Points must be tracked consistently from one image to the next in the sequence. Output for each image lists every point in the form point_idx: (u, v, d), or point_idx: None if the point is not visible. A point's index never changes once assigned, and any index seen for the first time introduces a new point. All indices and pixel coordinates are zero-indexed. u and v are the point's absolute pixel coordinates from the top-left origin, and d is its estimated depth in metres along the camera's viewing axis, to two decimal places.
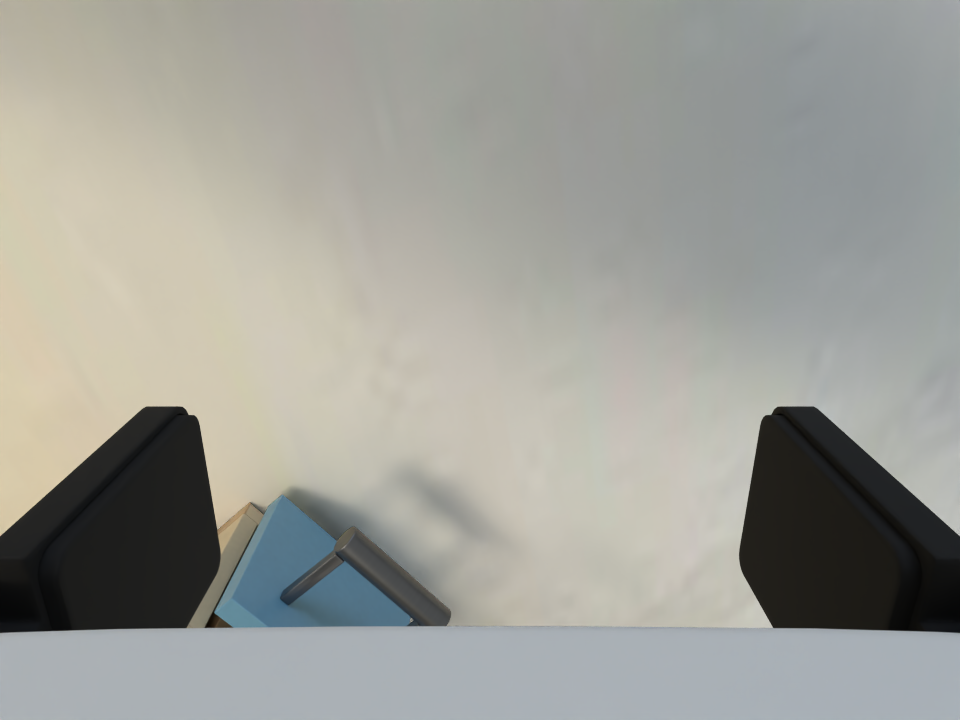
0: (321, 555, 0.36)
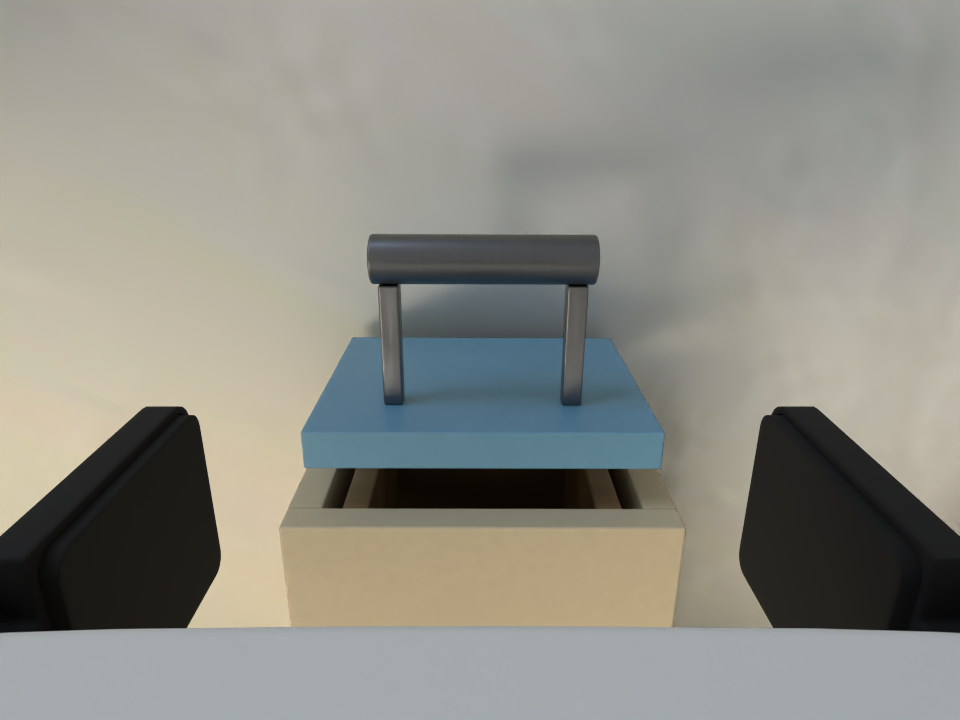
0: (437, 354, 0.25)
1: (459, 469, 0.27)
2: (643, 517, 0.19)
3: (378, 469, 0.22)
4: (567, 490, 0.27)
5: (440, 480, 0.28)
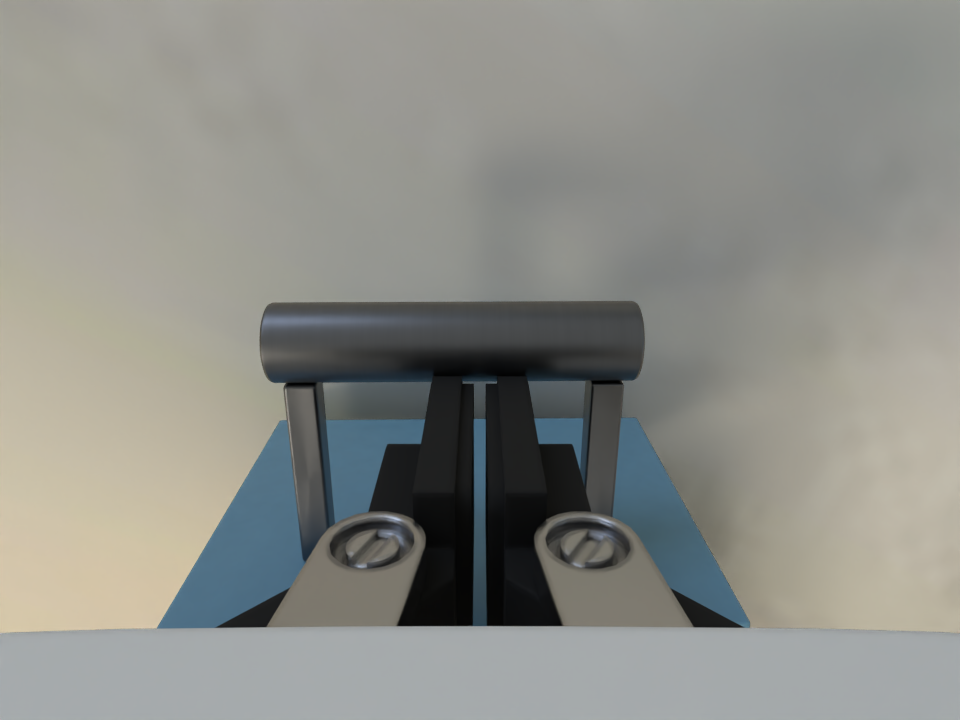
0: None
1: None
2: None
3: None
4: None
5: None
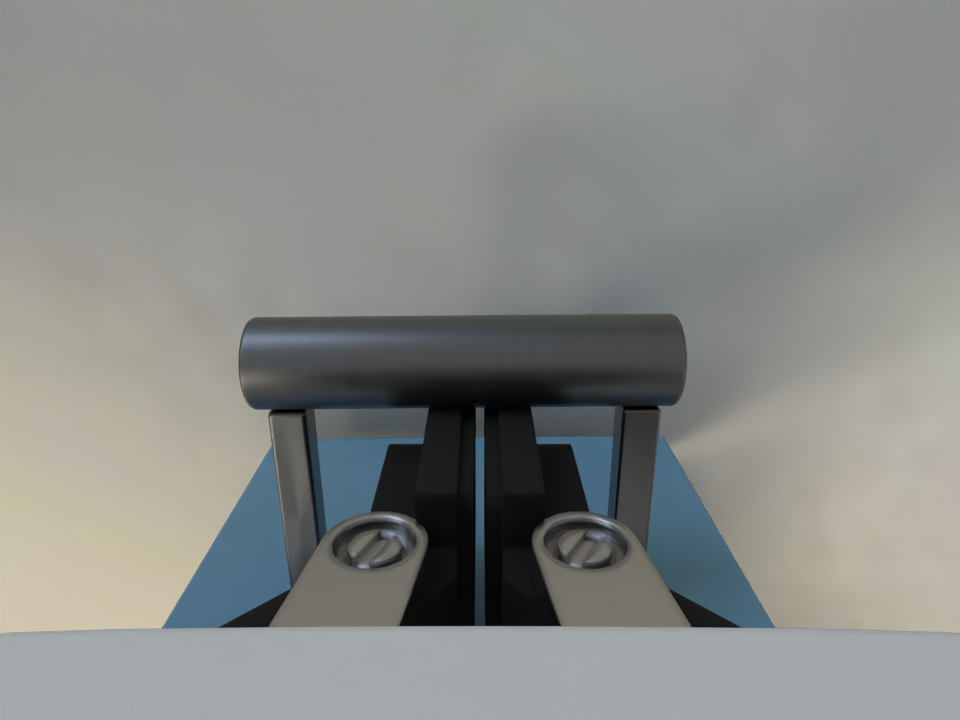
0: None
1: None
2: None
3: None
4: None
5: None
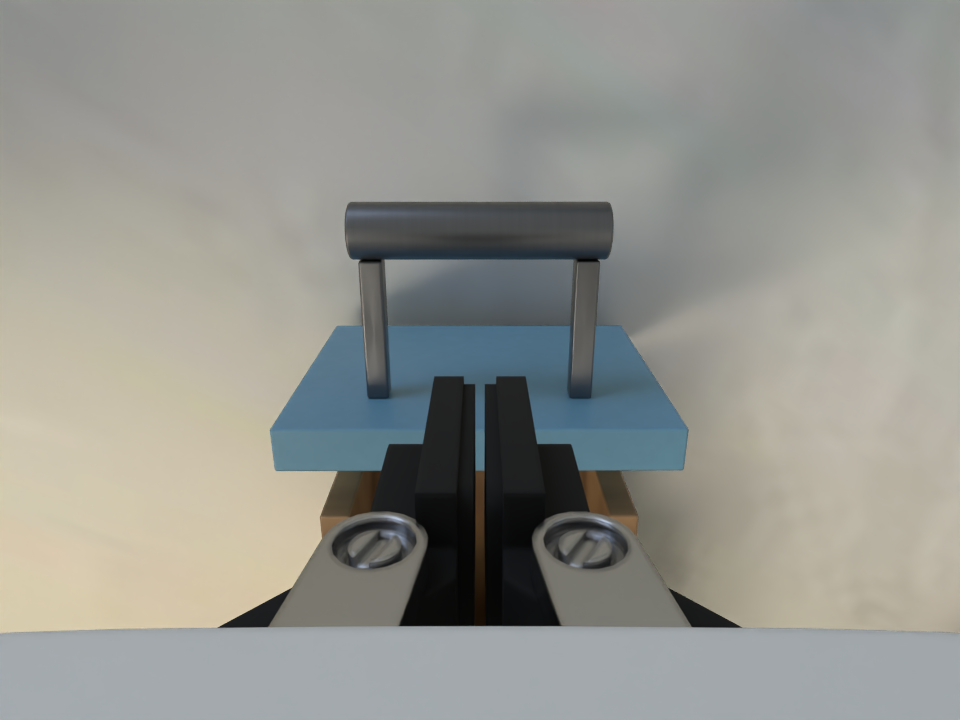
0: (429, 343, 0.22)
1: None
2: None
3: (363, 471, 0.20)
4: None
5: None
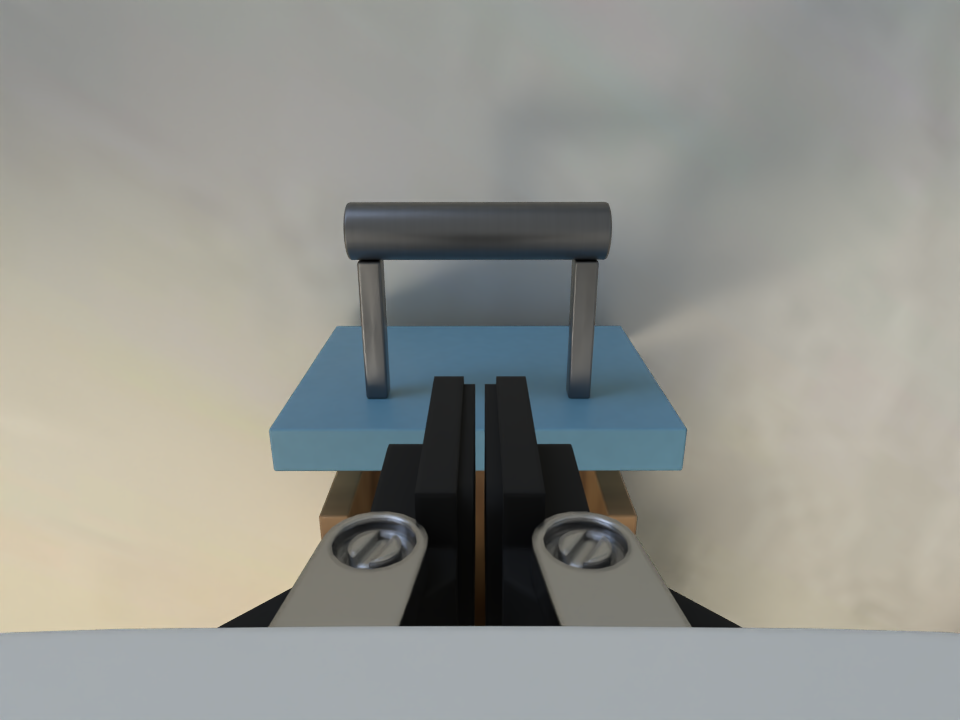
0: (429, 343, 0.22)
1: None
2: None
3: (362, 471, 0.20)
4: None
5: None
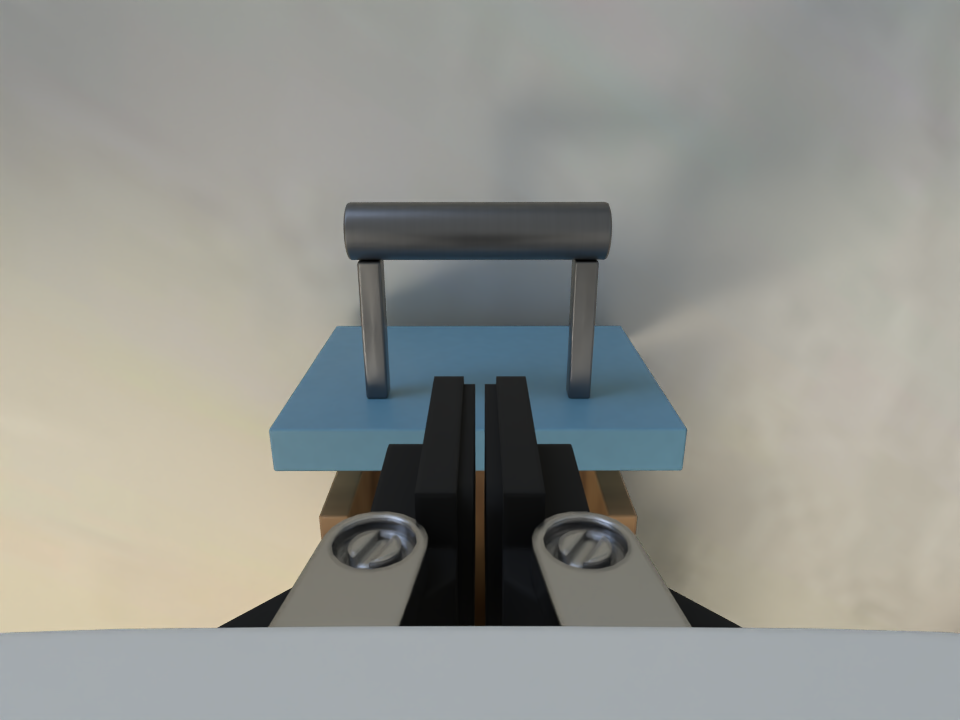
0: (429, 343, 0.22)
1: None
2: None
3: (362, 471, 0.20)
4: None
5: None
